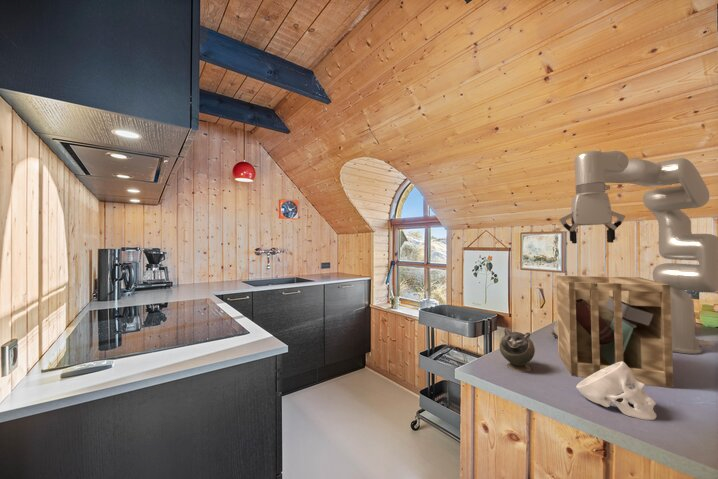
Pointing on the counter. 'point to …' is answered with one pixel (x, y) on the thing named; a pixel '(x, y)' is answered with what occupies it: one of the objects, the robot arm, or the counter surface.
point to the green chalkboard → (624, 327)
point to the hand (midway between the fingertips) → (591, 242)
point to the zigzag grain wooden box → (616, 326)
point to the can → (585, 320)
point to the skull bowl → (618, 391)
